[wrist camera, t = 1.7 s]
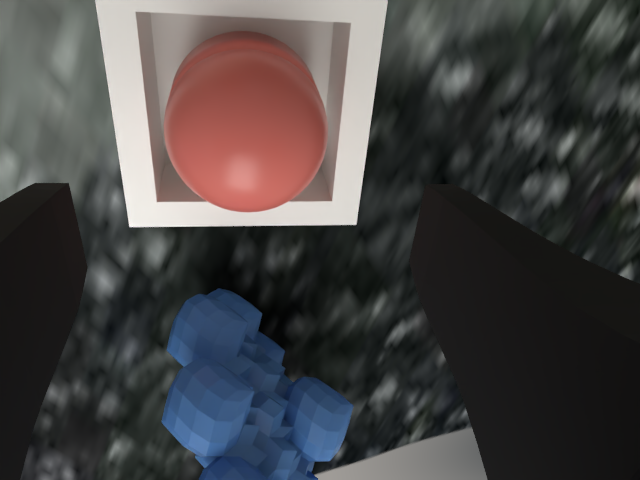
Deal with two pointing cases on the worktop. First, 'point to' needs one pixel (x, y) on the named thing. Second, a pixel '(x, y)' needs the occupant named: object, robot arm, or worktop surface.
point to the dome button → (245, 122)
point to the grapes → (246, 397)
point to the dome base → (214, 19)
